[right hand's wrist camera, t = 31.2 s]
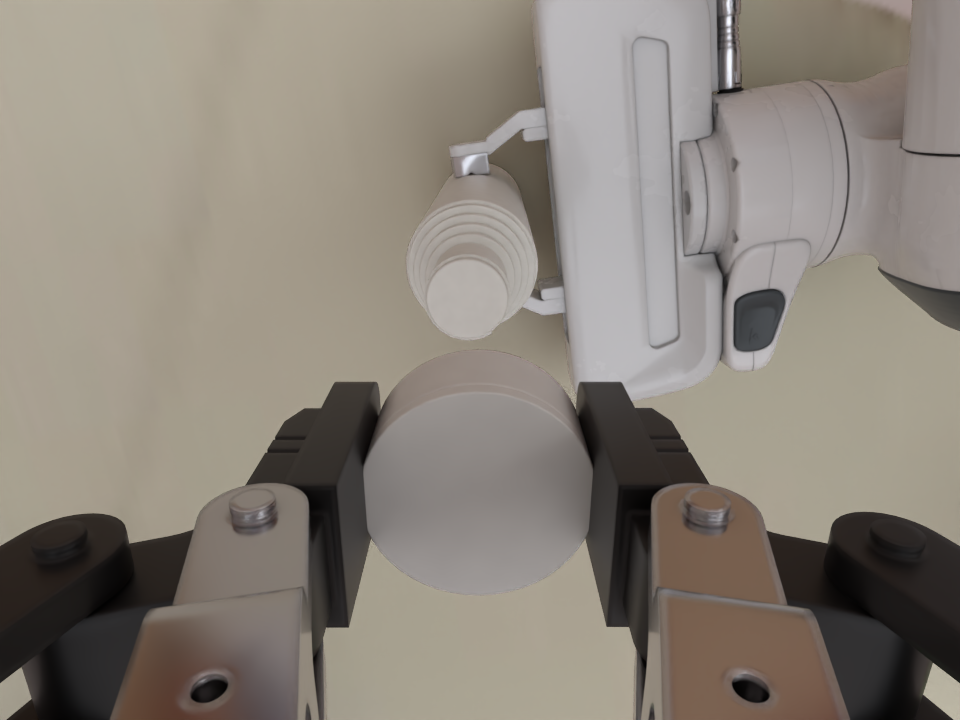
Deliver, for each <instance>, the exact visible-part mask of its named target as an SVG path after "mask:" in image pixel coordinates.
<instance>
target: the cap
mask: <svg viewBox="0 0 960 720" xmlns="http://www.w3.org/2000/svg"><path fill="white" fill-rule="evenodd" d="M363 477H364V490H365V504H366V517H367V529H368V533H369V535H370V537H371V539H372V540H373V542H374V543H375V545H376V546H377V548H378V549H379V550H380V552H381V553H382V554H383V555H384V556H385V557H386V558H387V559H388V560H389V561H390V562H391V563H392V564H393V565H394V566H395V567H397V568H398V569H399V570H400V571H402V572H403V573H405V574H406V575H408V576H409V577H411V578H413V579H415V580H417V581H419V582H421V583H423V584H425V585H427V586H430V587H433V588H435V589H438V590H442V591H446V592H450V593H456V594H463V595H494V594H500V593H506V592H511V591H514V590H518V589H521V588H524V587H527V586H529V585H531V584H534V583H536V582H538V581H540V580H542V579H544V578H545V577H547V576H549V575H550V574H552V573H553V572H554V571H556V570H557V569H559V568H560V567H561V566H562V565H563V564H564V563H566V562H567V561H568V560H569V559H570V558H571V557H572V555H573V554H574V553H575V552H576V551H577V549H578V548H579V547H580V545H581V544H582V542H583V541H584V539H585V537H586V536H587V533H588V531H589V521H590V507H591V493H592V479H593V465H592V461H591V458H590V455H589V451H588V448H587V445H586V441H585V438H584V435H583V432H582V428H581V425H580V422H579V418H578V415H577V412H576V409H575V407H574V405H573V403H572V401H571V400H570V398H569V396H568V395H567V393H566V392H565V391H564V389H563V388H562V387H561V386H560V385H559V383H558V382H557V381H556V380H555V379H554V378H553V377H552V376H550V375H549V374H548V373H547V372H545V371H544V370H543V369H541V368H540V367H538V366H536V365H535V364H533V363H531V362H529V361H527V360H525V359H522V358H520V357H518V356H514V355H511V354H508V353H504V352H498V351H492V350H465V351H458V352H453V353H448V354H445V355H442V356H439V357H436V358H434V359H432V360H430V361H428V362H426V363H424V364H422V365H420V366H419V367H417V368H416V369H414V370H413V371H411V372H410V373H409V374H408V375H406V376H405V377H404V378H403V379H402V380H401V381H400V382H399V383H398V384H397V385H396V386H395V388H394V389H393V390H392V391H391V393H390V394H389V396H388V397H387V399H386V401H385V402H384V405H383V407H382V409H381V411H380V414H379V417H378V420H377V423H376V427H375V430H374V433H373V436H372V439H371V442H370V446H369V449H368V452H367V455H366V458H365V462H364V465H363Z"/></svg>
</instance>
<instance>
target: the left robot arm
mask: <svg viewBox="0 0 960 720" xmlns="http://www.w3.org/2000/svg"><path fill="white" fill-rule="evenodd" d="M740 11H741V0H534V2H533V4H532V8H531V17H532V27H533V37H534V46H535V56H536V66H537V75H538V85H539V95H540V104H541V107H539V108H532V109H526V110H520V111H516V112H515V113H514V114H513V115H512V116H510V117H509V118H508V119H507V120H505V121H504V122H503V123H502V124H501V125H499V126H498V127H497V128H496V129H495V130H493V131H492V132H491V133H490V134H488V135H487V136H486V140H479V141H472V142H466V143H459V144H454V145H450V146H449V152H450V159H451V165H452V170H453V176H454V178H460V177H465V176H468V175H469V174H470V173H473V174H475V175H480V174H487V173H490V169H489V161H488V155H490V154H491V153H493V152H494V151H495V150H496V149H498V148H499V147H500V146H501V145H503V144H504V143H505V142H506V141H507V140H509V139H510V138H511V137H512V136H514V135H515V134H516V133H517V132H519V131H520V134H521V138H522V139H523V140H524V141H526V142H529V141H536V140H544V143H545V152H546V162H547V172H548V181H549V191H550V200H551V210H552V220H553V229H554V239H555V249H556V258H557V268H558V276H557V277H551V278H545V279H539V280H538V289H539V290H536V289H533V291H532V293H531V295H530V297H529V298H528V300H527V302H526V303H525V304H524V305H523V308H526V309H528V310H530V311H533V312H535V313H538V314H540V315H543V316H544V315H551V314H559V313H562V316H563V326H564V335H565V345H566V354H567V364H568V372H569V377H570V381H571V384H572V386H573V389H574V392H575V393H576V395H577V390H578V385H579V382H622V384H623V386H624V387H625V389H626V391H627V393H628V395H629V397H630V399H631V401H637V400H642V399H647V398H652V397H657V396H661V395H665V394H669V393H673V392H677V391H681V390H684V389H687V388H690V387H692V386H694V385H696V384H698V383H700V382H702V381H703V380H705V379H706V378H707V377H708V376H709V375H710V374H711V373H712V372H713V371H714V370H715V368H716V366H717V365H718V363H719V360H720V361H721V362H722V363H724V364H725V365H727V366H728V367H729V368H731V369H732V370H735V371H753V370H758V369H761V368H763V367H764V366H766V365H767V364H768V362H769V361H770V359H771V357H772V355H773V353H774V350H775V347H776V344H777V341H778V338H779V335H780V332H781V329H782V327H783V324H784V321H785V318H786V315H787V313H788V310H789V307H790V305H791V302H792V299H793V297H794V294H795V292H796V290H797V287H798V285H799V283H800V280H801V278H802V276H803V274H804V272H805V269H806V268H811V267H816V266H819V265H822V264H825V263H827V262H830V261H832V260H835V259H838V258H841V257H844V256H849V255H861V254H862V255H870V256H873V257H875V258H876V259H877V261H878V263H879V267H878V270H879V271H880V272H881V273H882V274H883V276H884V277H885V278H886V279H887V280H889V281H890V282H891V283H892V284H893V285H894V286H895V287H896V288H898V289H899V290H900V291H901V292H902V293H904V294H905V295H906V296H907V297H909V298H910V299H911V300H912V301H913V302H915V303H916V304H917V305H918V306H920V307H921V308H922V309H923V310H924V311H926V312H927V313H928V314H929V315H930V316H931V317H933V318H934V319H935V320H937V321H938V322H940V323H942V324H944V325H946V326H948V327H950V328H953V329H956V330H958V331H960V0H912V14H911V28H910V42H909V56H908V65H903V66H898V67H894V68H891V69H888V70H885V71H883V72H880V73H878V74H876V75H874V76H872V77H869V78H867V79H864V80H860V81H856V82H843V83H841V82H834V81H828V80H818V79H812V80H803V81H797V82H790V83H783V84H777V85H770V86H763V87H757V88H750V89H744V88H742V85H741V81H742V74H741V47H740V46H739V45H740V40H739V33H738V32H739V27H738V25H739V14H740ZM718 90H719V92H717V94H712V92H716V91H718Z"/></svg>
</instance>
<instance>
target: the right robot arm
mask: <svg viewBox="0 0 960 720" xmlns="http://www.w3.org/2000/svg"><path fill="white" fill-rule="evenodd" d="M380 411H381V408H380V394H379V387H378V384H377V382H335V383H334V385H333V386H332V388H331V390H330V392H329V394H328V396H327V398H326V400H325V402H324V404H323V406H322V408H305V409H303V410H301V411H300V412H298V413H297V414H295V415H294V416H292V417H291V418H289V419H288V420H286V421H285V422H284V423H283V425H282V427H281V428H280V430H279V432H278V433H277V435H276V436H275V440H273V441H272V443H271V445H270V446H269V448H268V452H267V453H265V454H264V456H263V458H262V459H261V461H260V463H259V464H258V466H257V467H256V469H255V471H254V472H253V474H252V476H251V477H250V479H249V481H248V482H247V484H246V485H245V486H242V487H239V488H236V489H233V490H230V491H228V492H225V493H223V494H221V495H219V496H218V497H216V498H214V499H213V500H211V501H210V502H209V503H208V504H207V505H205V506H204V507H203V509H202V510H201V511H200V513H199V515H198V517H197V521H196V524H195V528H194V530H191V531H188V532H185V533H181V534H177V535H173V536H168V537H163V538H157V539H152V540H147V541H142V542H136V543H131V544H129V540H128V535H127V531H126V527H125V525H124V523H123V522H122V521H121V520H119V519H118V518H116V517H113V516H110V515H105V514H94V513H93V514H79V515H72V516H67V517H63V518H59V519H55V520H52V521H49V522H46V523H43V524H41V525H38V526H36V527H34V528H32V529H30V530H28V531H26V532H24V533H22V534H20V535H19V536H17V537H15V538H13V539H12V540H10V541H8V542H7V543H5V544H3V545H1V546H0V683H1V682H2V681H3V680H5V679H6V678H7V677H9V676H10V675H11V674H13V673H14V672H15V671H16V670H18V669H19V668H20V667H22V669H23V672H24V675H25V679H26V682H27V685H28V688H29V691H30V694H31V698H32V699H31V700H30V701H29V702H28V703H26V704H25V705H24V706H23V707H22V708H20V709H19V710H18V711H17V712H15V713H14V714H13V715H12V716H11V717H9V718H8V719H7V720H327V702H326V663H325V654H324V644H323V636H324V633H325V629H326V627H349V624H350V620H351V616H352V612H353V608H354V604H355V600H356V596H357V592H358V588H359V584H360V580H361V576H362V572H363V568H364V564H365V560H366V556H367V552H368V548H369V544H370V540H371V537H370V535H369V533H368V529H367V517H366V504H365V490H364V477H363V465H364V462H365V458H366V455H367V452H368V449H369V446H370V442H371V439H372V436H373V433H374V430H375V427H376V423H377V420H378V417H379V414H380ZM576 412H577V415H578V418H579V422H580V425H581V428H582V432H583V435H584V438H585V441H586V445H587V448H588V451H589V455H590V458H591V461H592V465H593V479H592V493H591V507H590V521H589V531H588V533H587V536H586V537H585V539H586V543H587V547H588V551H589V555H590V559H591V563H592V568H593V572H594V576H595V580H596V584H597V588H598V592H599V597H600V601H601V605H602V609H603V613H604V617H605V621H606V626H607V627H629V628H630V631H631V635H632V639H633V642H634V645H635V647H636V654H635V663H634V702H633V720H953V719H952V718H951V717H949V716H948V715H947V714H946V713H945V712H943V711H942V710H941V709H940V708H938V707H937V706H936V705H935V704H934V703H932V702H931V701H930V700H929V699H928V698H926V697H925V696H924V695H923V693H924V689H925V686H926V683H927V680H928V677H929V673H930V670H931V667H932V664H933V663H934V664H936V665H937V666H938V667H940V668H941V669H942V670H944V671H945V672H946V673H947V674H949V675H950V676H951V677H953V678H954V679H955V680H957V681H958V682H959V683H960V546H959V545H957V544H955V543H953V542H952V541H950V540H948V539H947V538H945V537H943V536H941V535H940V534H938V533H936V532H934V531H933V530H931V529H929V528H927V527H925V526H923V525H920V524H918V523H916V522H913V521H910V520H907V519H904V518H900V517H897V516H893V515H888V514H883V513H875V512H855V513H849V514H846V515H843V516H840V517H839V518H837V519H836V520H835V521H834V522H833V524H832V527H831V531H830V536H829V540H828V544H827V543H822V542H816V541H811V540H806V539H801V538H795V537H790V536H785V535H780V534H776V533H772V532H769V531H766V528H765V524H764V521H763V517H762V515H761V513H760V511H759V510H758V509H757V507H756V506H755V505H753V504H752V503H751V502H750V501H749V500H747V499H746V498H744V497H742V496H741V495H739V494H737V493H735V492H732V491H730V490H727V489H724V488H721V487H718V486H713V485H710V484H709V483H708V481H707V479H706V478H705V476H704V474H703V473H702V471H701V469H700V468H699V466H698V464H697V463H696V461H695V459H694V458H693V456H692V454H691V453H690V452H688V448H687V446H686V444H685V443H684V441H683V440H681V436H680V434H679V433H678V431H677V430H676V428H675V426H674V425H673V423H672V421H670V420H669V419H667V418H666V417H664V416H663V415H661V414H660V413H658V412H657V411H655V410H654V409H652V408H635V407H634V405H633V403H632V401H631V399H630V397H629V395H628V393H627V391H626V389H625V387H624V386H623V384H622V382H579V385H578V390H577V401H576Z"/></svg>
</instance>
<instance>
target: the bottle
mask: <svg viewBox="0 0 960 720" xmlns="http://www.w3.org/2000/svg"><path fill="white" fill-rule="evenodd" d="M489 169H490V173H487V174H480V175H475V174H473V173H470V174H469V175H468V176H465V177H460V178H454V176H453V174H452V175H451V176H450V177H449V178H448V179H447V181H446V182H445V184H444V185H443V187H442V188H441V190H440V192H439V193H438V195H437V196H436V198H435V200H434V201H433V203H432V204H431V206H430V208H429V209H428V211H427V212H426V214H425V216H424V217H423V219H422V220H421V222H420V224H419V225H418V227H417V228H416V230H415V232H414V234H413V236H412V237H411V240H410V243H409V246H408V250H407V255H406V272H407V278H408V281H409V285H410V288H411V290H412V292H413V294H414V296H415V297H416V299H417V300H418V302H419V303H420V305H421V306H422V307H423V308H424V309H425V310H426V313H427V314H428V316H429V318H430V320H431V321H432V323H433V324H434V325H435V326H436V327H437V328H438V329H439V330H440V331H441V332H443V333H445V334H446V335H448V336H450V337H453V338H456V339H459V340H471V341H472V340H476V339H481V338H484V337H486V336H488V335H490V334H492V332H491V331H492V330H494V329H495V328H496V327H497V326H498V325H499V324H501V323H502V322H504V321H506V320H508V319H509V318H510V317H512V316H513V315H514V314H516V313H517V312H518V311H519V310H520V309H521V308H522V307H523V305H524V304H525V303H526V302H527V300H528V298H529V297H530V295H531V293H532V291H533V288H534V286H535V282H536V279H537V273H538V257H537V251H536V247H535V243H534V240H533V236H532V233H531V229H530V225H529V222H528V218H527V215H526V211H525V207H524V204H523V200H522V196H521V193H520V190H519V187H518V185H517V184H516V182H515V180H514V179H513V178H512V177H511V176H510V174H509V173H507V172H506V171H505V170H503V169H502V168H500V167H498V166H496V165H493V164H489Z"/></svg>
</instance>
